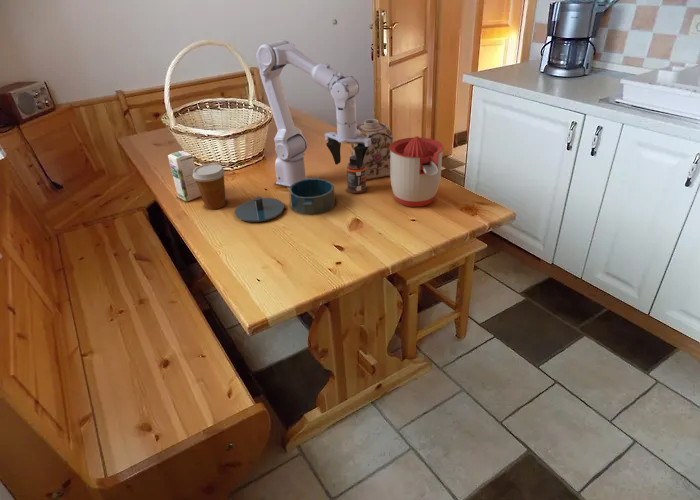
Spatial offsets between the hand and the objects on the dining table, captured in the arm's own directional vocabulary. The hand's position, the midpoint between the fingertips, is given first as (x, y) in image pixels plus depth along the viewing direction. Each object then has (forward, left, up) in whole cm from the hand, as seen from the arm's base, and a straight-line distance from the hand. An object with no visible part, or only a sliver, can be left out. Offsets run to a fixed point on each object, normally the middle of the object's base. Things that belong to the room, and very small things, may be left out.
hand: (348, 165), depth 144 cm
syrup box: (-48, -21, -11) cm, 54 cm away
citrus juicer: (+20, +6, -11) cm, 23 cm away
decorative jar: (-2, +20, -11) cm, 22 cm away
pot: (-8, -9, -10) cm, 16 cm away
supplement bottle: (0, +5, -11) cm, 12 cm away
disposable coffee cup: (-36, -22, -11) cm, 44 cm away
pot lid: (-20, -20, -10) cm, 30 cm away
